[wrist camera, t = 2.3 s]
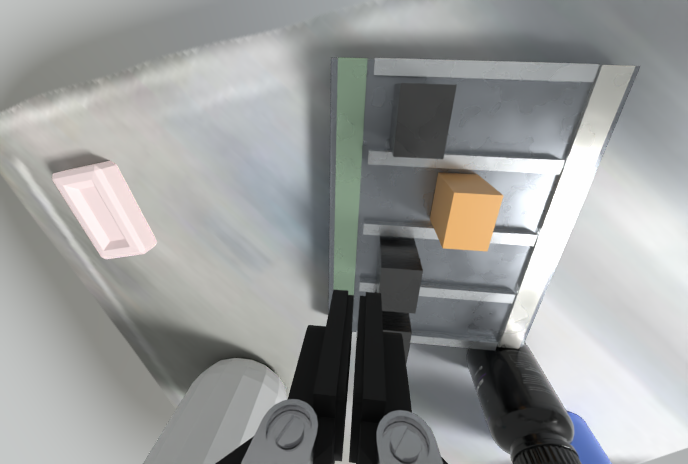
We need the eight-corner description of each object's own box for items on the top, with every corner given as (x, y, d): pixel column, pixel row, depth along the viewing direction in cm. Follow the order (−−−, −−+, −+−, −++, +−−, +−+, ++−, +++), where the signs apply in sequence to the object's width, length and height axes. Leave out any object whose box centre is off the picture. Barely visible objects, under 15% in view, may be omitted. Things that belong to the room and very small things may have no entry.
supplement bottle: (453, 348, 33) (491, 470, 23) (510, 322, 31) (583, 445, 20) (482, 382, 35) (530, 509, 25) (538, 360, 33) (618, 491, 22)
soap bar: (117, 158, 27) (95, 165, 25) (161, 243, 31) (145, 255, 29) (70, 168, 28) (44, 175, 26) (118, 249, 32) (100, 261, 30)
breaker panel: (616, 68, 20) (724, 59, 14) (513, 332, 32) (548, 392, 25) (334, 60, 22) (319, 48, 16) (330, 316, 33) (320, 369, 27)
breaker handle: (477, 174, 22) (503, 195, 18) (466, 221, 24) (487, 251, 20) (438, 172, 23) (454, 192, 18) (429, 219, 24) (442, 248, 20)
